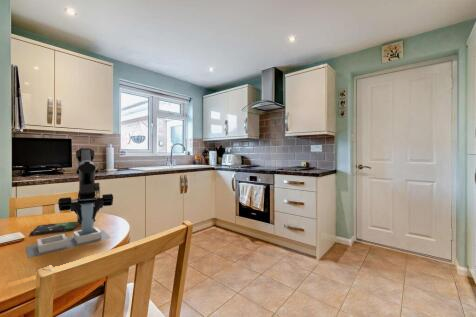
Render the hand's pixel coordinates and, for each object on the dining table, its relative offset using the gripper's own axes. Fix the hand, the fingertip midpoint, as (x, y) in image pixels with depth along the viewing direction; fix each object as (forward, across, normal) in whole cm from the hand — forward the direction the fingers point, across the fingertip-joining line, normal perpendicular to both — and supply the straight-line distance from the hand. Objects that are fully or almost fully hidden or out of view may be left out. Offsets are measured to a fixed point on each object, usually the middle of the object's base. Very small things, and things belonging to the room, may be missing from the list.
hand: (87, 219), depth 90 cm
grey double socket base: (+6, -5, +6) cm, 10 cm away
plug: (+3, 0, +5) cm, 6 cm away
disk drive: (-7, -12, +21) cm, 25 cm away
